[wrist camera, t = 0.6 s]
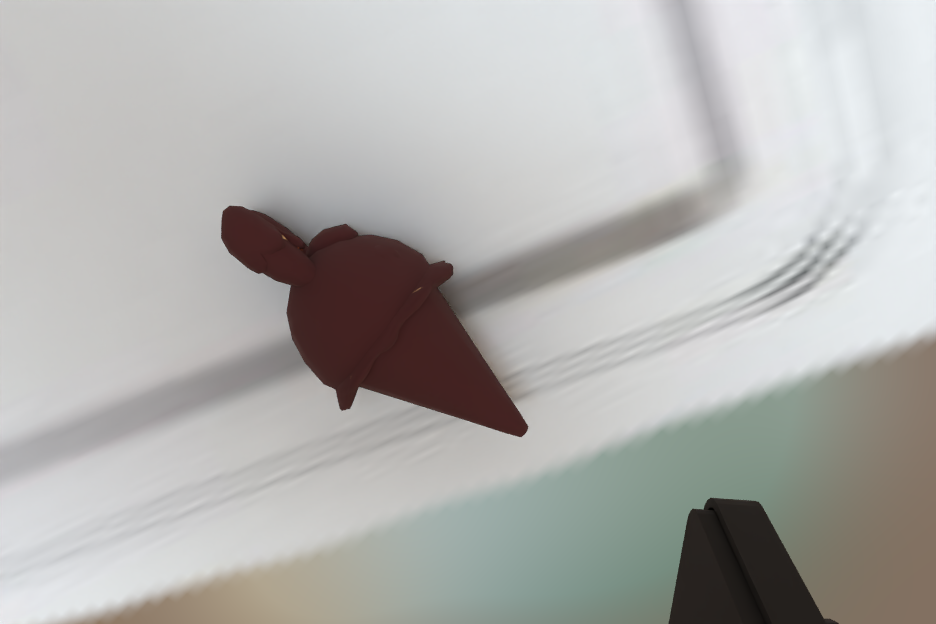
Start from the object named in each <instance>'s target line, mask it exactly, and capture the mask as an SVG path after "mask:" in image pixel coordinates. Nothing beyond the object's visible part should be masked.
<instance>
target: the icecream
mask: <svg viewBox="0 0 936 624" xmlns="http://www.w3.org/2000/svg"><path fill="white" fill-rule="evenodd" d="M221 239H222V241H223V242H224V244H225V246H226V248H227V249H228V251H229V253H230V254H231V255H233V256H234V257H235V258H236V259H238V260H239V261H240V262H241V263H242V264H244V265H245V266H246V267H247V268H249V269H250V270H252V271H254V272H256V273H258V274H260V273H264V274H265V275H267V276H269V277H271V278H272V279H274V280H276V281H279V282H282V283H285V284H289V285H291V288H290V294H289V300H288V306H287V317H288V322H289V326H290V331H291V336H292V339H293V341H294V343H295V345H296V347H297V349H298V351H299V353H300V355H301V356H302V358H303V360H304V362H305V363H306V364H307V365H308V367H309V368H310V369H311V370H312V371H313V372H314V373H315V375H316V376H317V377H318V378H319V379H320V380H321V381H322V383H323V384H325V385H327V386H329V387H332V388H334V389H336V393H337V398H338V402H339V406H340V409H341V410H342V411H343V410H346V409H350V407H351V406H352V403H353V400H354V398H355V395H356V393H357V390H358V387H362V388H365V389H368V390H372V391H375V392H378V393H381V394H384V395H387V396H391V397H394V398H397V399H400V400H403V401H407V402H410V403H413V404H416V405H419V406H422V407H426V408H429V409H432V410H435V411H438V412H441V413H445V414H448V415H451V416H454V417H457V418H461V419H464V420H467V421H470V422H473V423H476V424H479V425H482V426H486V427H489V428H492V429H495V430H498V431H501V432H504V433H507V434H511V435H515V436H518V437H522V436H523V435H524V434H525V433H526V432H527V430H528V425H527V424H526V422H525V420H524V419H523V417H522V415H521V414H520V412H519V411H518V409H517V408H516V406H515V405H514V403H513V402H512V400H511V399H510V398H509V396H508V395H507V393H506V392H505V390H504V389H503V387H502V386H501V384H500V383H499V381H498V380H497V378H496V377H495V375H494V373H493V372H492V370H491V369H490V367H489V366H488V364H487V363H486V361H485V360H484V358H483V357H482V355H481V354H480V352H479V351H478V349H477V348H476V346H475V345H474V343H473V342H472V340H471V338H470V337H469V335H468V334H467V332H466V331H465V329H464V328H463V326H462V325H461V323H460V322H459V320H458V319H457V317H456V316H455V314H454V313H453V311H452V310H451V308H450V306H449V305H448V303H447V302H446V300H445V299H444V297H443V296H442V294H441V293H440V291H439V290H438V288H437V287H438V286H440V285H441V284H442V283H444V282H445V281H446V280H448V279H449V278H450V277H451V276H452V275H453V266H452V265H451V264H449V263H445V261H441V262H438V263H434V264H430V265H429V264H428V262H427V261H426V259H425V258H424V256H423V255H422V254H421V253H419V252H417V251H415V250H414V249H412V248H410V247H408V246H407V245H405V244H403V243H401V242H399V241H398V240H393V239H388V238H384V237H379V236H374V235H362V236H358V233H357V232H356V231H355V230H353V229H352V228H351V227H349V226H348V225H347V224H343V225H339V226H335V227H331V228H327V229H324V230H322V231H321V232H320V233H319V234H318V235H317V236H315V237H314V238H313V239H312V241H311V242H310V244H309V246H307V245H306V244H305V243H304V242H303V241H302V240H301V239H300V238H299V237H297V236H295V235H294V234H293V233H292V232H291V231H289V230H288V229H287V228H286V227H284V226H283V225H281V224H280V223H278V222H276V221H275V220H273V219H272V218H270V217H268V216H267V215H265V214H263V213H260V212H257V211H254V210H251V211H250V210H248V209H246V208H244V207H241V206H229V207H228V208H226V209H225V210H224V211H223V214H222V225H221Z"/></svg>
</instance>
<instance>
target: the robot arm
mask: <svg viewBox="0 0 936 624" xmlns="http://www.w3.org/2000/svg"><path fill="white" fill-rule="evenodd" d="M669 624H838V623H837V622H835V621H833V620H831V619H824V618H823V617H822V615H821V613H820V611H819V609H818V607H817V606H816V604H815V602H814V600H813V598H812V597H811V595H810V593H809V591H808V589H807V587H806V586H805V584H804V582H803V580H802V578H801V577H800V575H799V573H798V571H797V569H796V567H795V566H794V564H793V562H792V560H791V558H790V556H789V554H788V553H787V551H786V549H785V547H784V545H783V544H782V542H781V540H780V538H779V536H778V534H777V533H776V531H775V529H774V527H773V525H772V524H771V522H770V520H769V518H768V516H767V514H766V512H765V511H764V509H763V507H762V506H761V504H760V503H759V502H756V501H747V500H733V499H719V498H710V499H708V500H707V502H706V504H705V506H704V510H702V509H692V510H691V511H690V513H689V516H688V520H687V525H686V530H685V537H684V541H683V547H682V553H681V559H680V564H679V569H678V575H677V580H676V586H675V591H674V597H673V603H672V608H671V614H670V620H669Z"/></svg>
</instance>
